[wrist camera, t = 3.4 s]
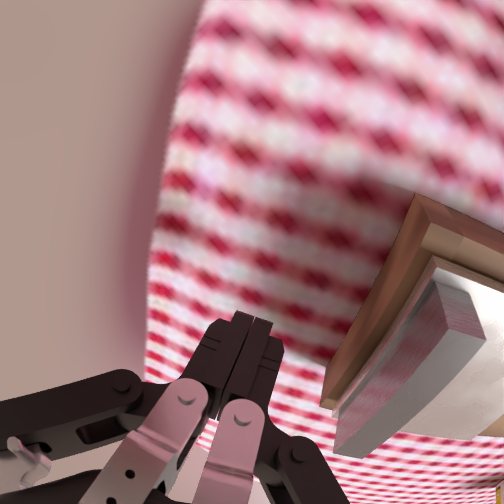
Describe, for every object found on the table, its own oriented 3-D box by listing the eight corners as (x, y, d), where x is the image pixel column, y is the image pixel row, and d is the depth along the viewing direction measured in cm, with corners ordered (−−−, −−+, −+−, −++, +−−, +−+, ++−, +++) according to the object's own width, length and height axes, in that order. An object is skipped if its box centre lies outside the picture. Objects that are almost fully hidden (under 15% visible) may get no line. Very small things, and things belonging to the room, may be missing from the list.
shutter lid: (432, 254, 10) (452, 314, 7) (576, 318, 9) (600, 364, 6) (333, 404, 15) (324, 455, 13) (469, 430, 14) (472, 472, 12)
